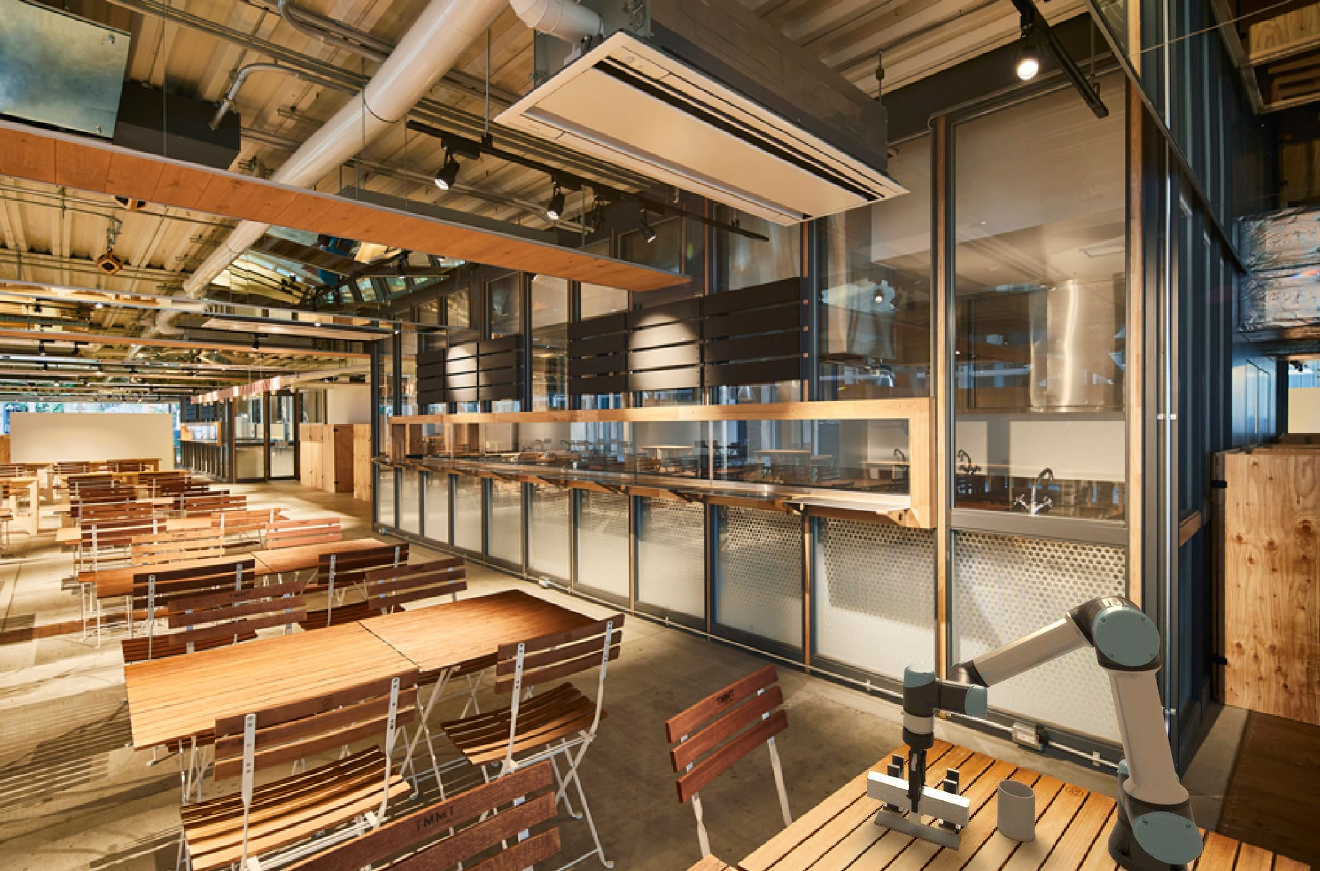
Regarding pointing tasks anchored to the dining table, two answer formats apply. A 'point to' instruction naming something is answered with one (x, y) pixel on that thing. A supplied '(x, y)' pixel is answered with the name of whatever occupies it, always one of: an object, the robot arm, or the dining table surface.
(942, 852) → the dining table surface
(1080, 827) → the dining table surface
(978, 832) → the dining table surface
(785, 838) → the dining table surface
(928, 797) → the rail
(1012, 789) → the grey oval cup
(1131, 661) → the robot arm
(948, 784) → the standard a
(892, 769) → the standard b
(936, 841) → the plank
